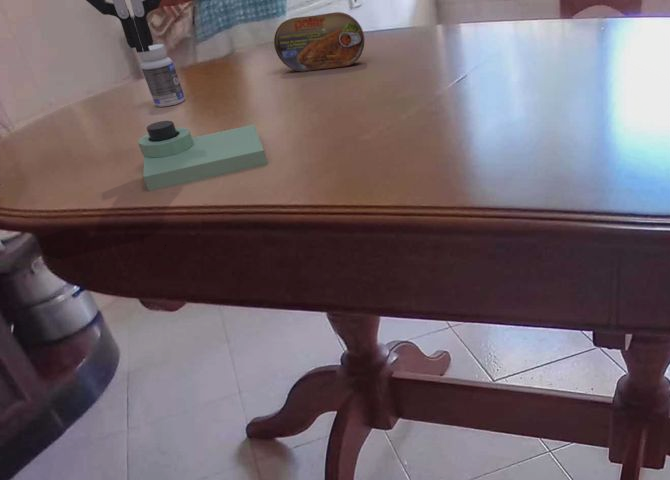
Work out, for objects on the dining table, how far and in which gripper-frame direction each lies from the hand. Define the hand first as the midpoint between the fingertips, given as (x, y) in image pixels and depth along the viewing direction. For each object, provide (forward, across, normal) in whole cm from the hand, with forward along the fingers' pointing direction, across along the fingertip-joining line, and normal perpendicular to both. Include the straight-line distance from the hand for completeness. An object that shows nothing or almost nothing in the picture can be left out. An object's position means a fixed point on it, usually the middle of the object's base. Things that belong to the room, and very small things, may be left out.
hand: (142, 51), depth 84 cm
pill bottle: (+12, -1, -27) cm, 30 cm away
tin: (+10, -27, -29) cm, 41 cm away
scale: (+13, -4, +6) cm, 15 cm away
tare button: (+10, +1, +3) cm, 10 cm away
